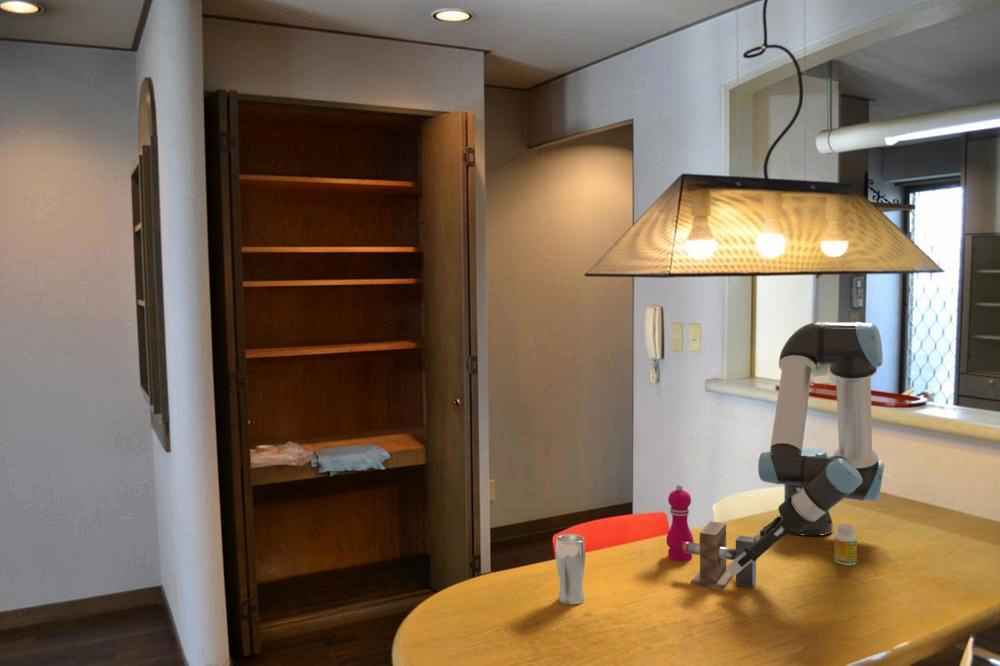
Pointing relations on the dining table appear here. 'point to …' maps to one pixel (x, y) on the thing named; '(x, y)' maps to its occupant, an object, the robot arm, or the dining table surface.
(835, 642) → the dining table surface
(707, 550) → the wooden arch frame
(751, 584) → the metal rod with plate
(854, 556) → the supplement bottle
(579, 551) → the beer glass
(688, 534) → the pepper mill
